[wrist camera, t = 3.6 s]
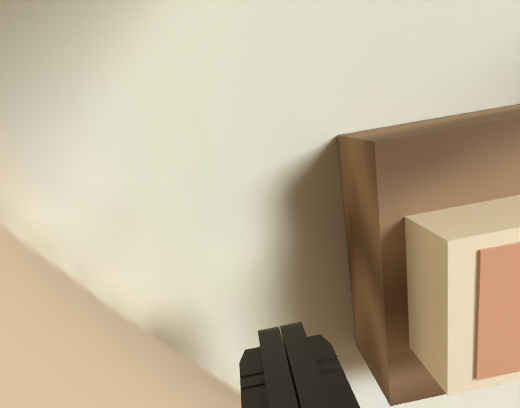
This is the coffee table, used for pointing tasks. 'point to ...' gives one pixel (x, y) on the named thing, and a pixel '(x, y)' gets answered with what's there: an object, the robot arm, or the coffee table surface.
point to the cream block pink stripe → (465, 293)
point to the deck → (410, 203)
